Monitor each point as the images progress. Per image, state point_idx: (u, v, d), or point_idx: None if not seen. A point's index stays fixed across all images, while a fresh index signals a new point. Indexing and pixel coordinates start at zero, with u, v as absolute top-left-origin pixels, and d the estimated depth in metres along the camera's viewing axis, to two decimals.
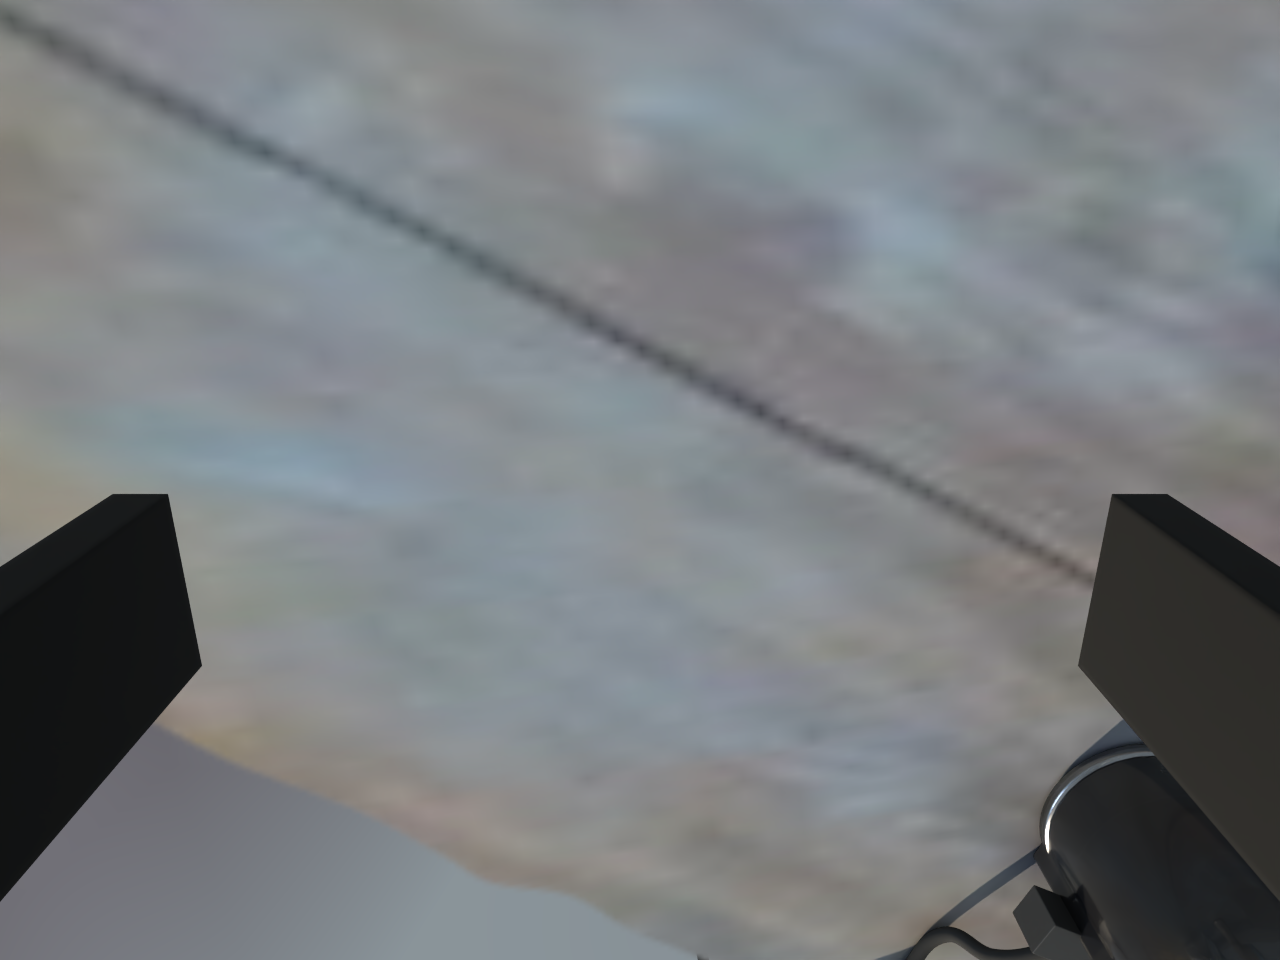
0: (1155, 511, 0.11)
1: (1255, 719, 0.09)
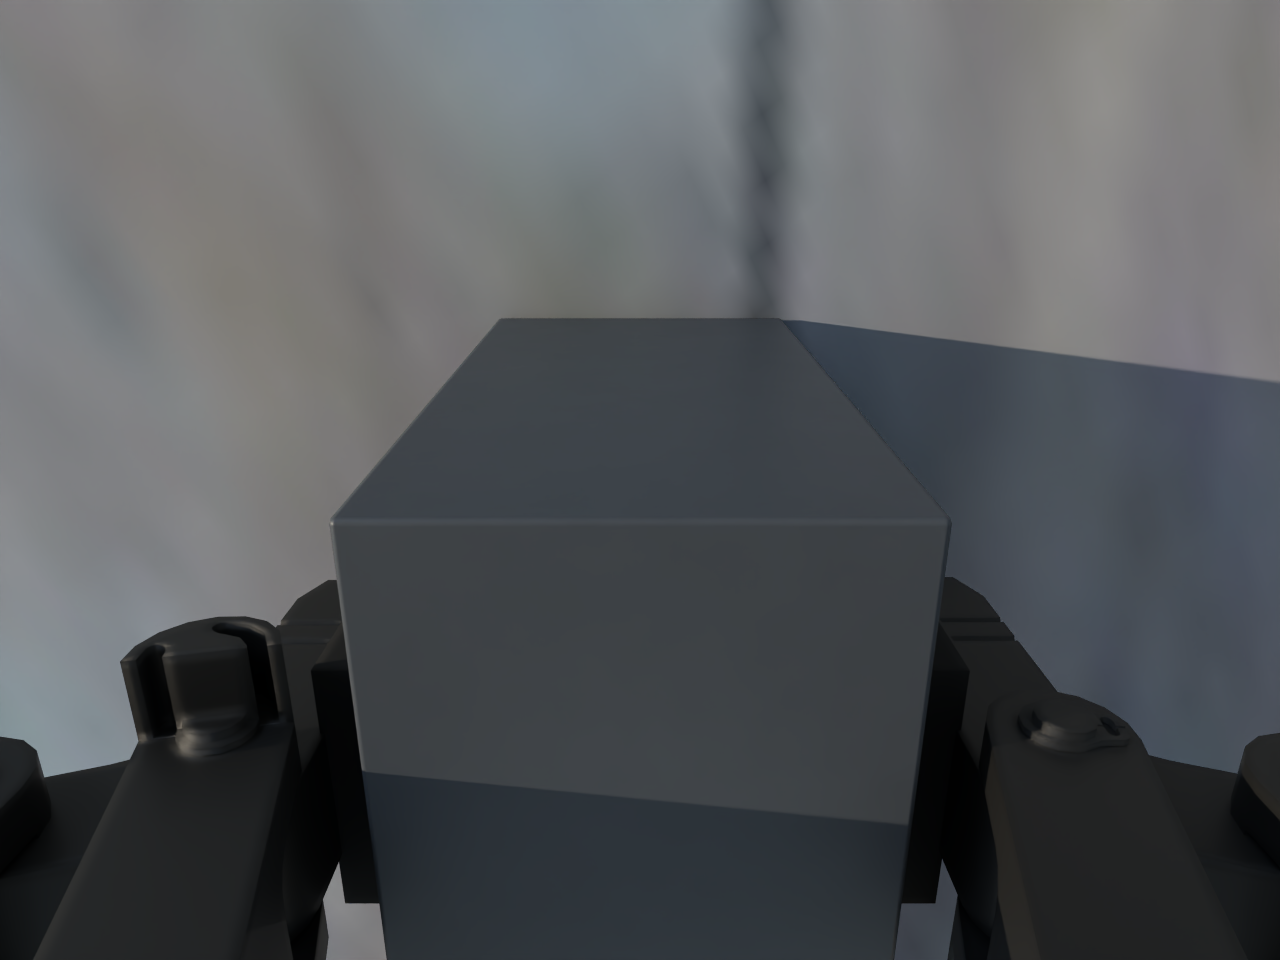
0: None
1: None
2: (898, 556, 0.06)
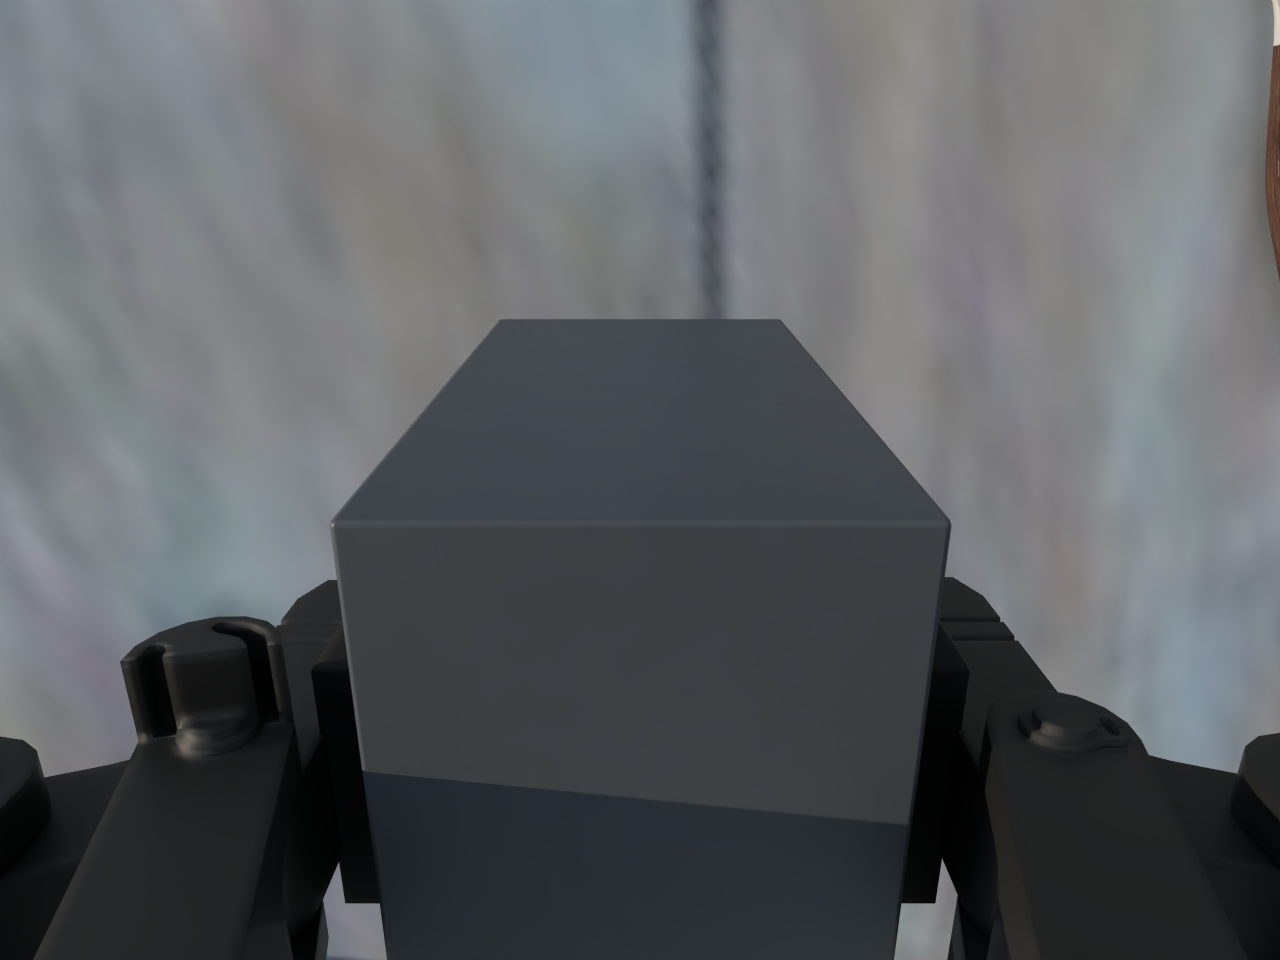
0: None
1: None
2: (897, 558, 0.06)
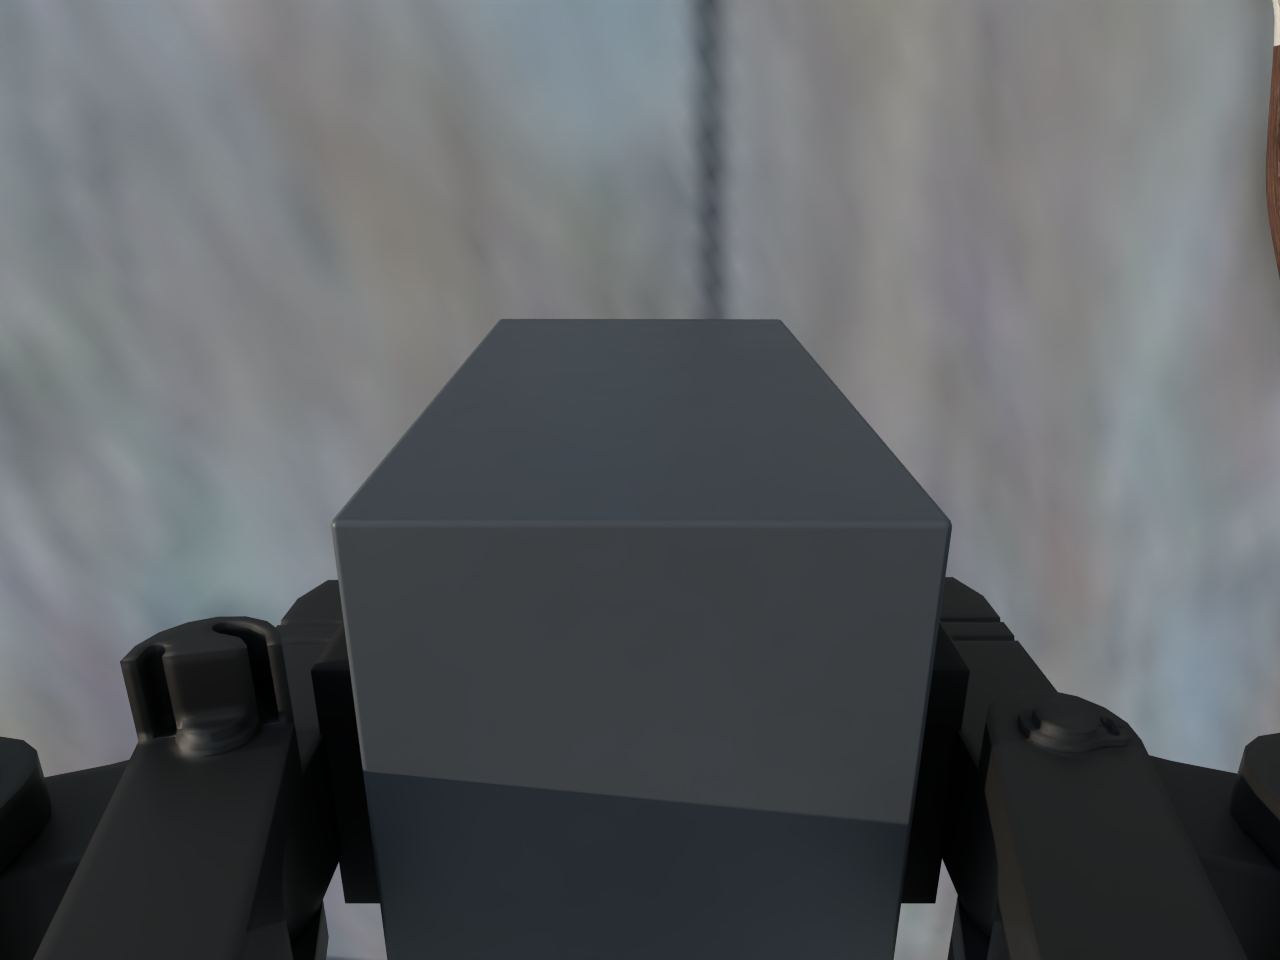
0: None
1: None
2: (898, 559, 0.06)
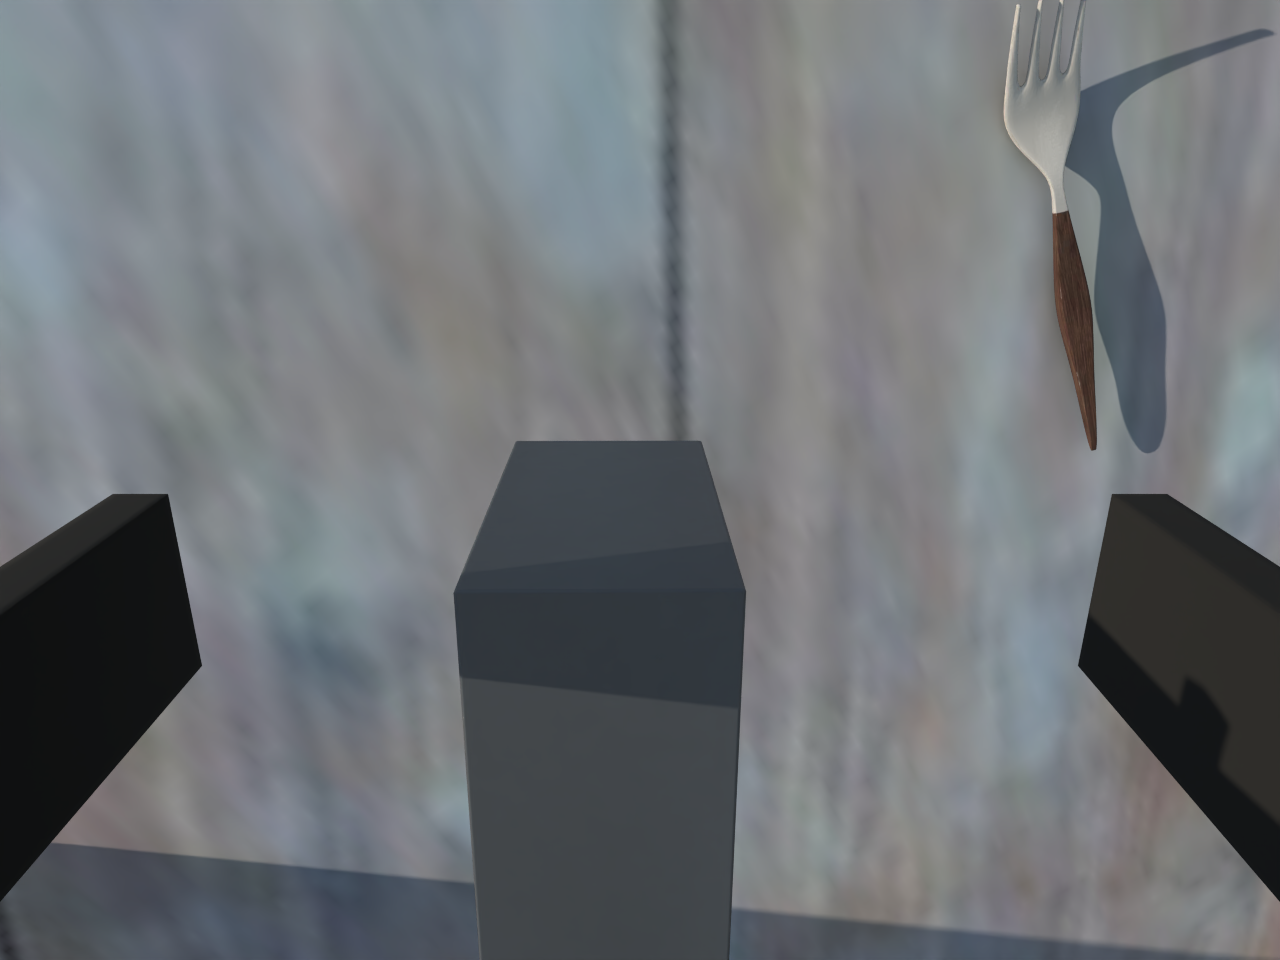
0: (1155, 511, 0.11)
1: (1255, 719, 0.09)
2: (721, 607, 0.14)
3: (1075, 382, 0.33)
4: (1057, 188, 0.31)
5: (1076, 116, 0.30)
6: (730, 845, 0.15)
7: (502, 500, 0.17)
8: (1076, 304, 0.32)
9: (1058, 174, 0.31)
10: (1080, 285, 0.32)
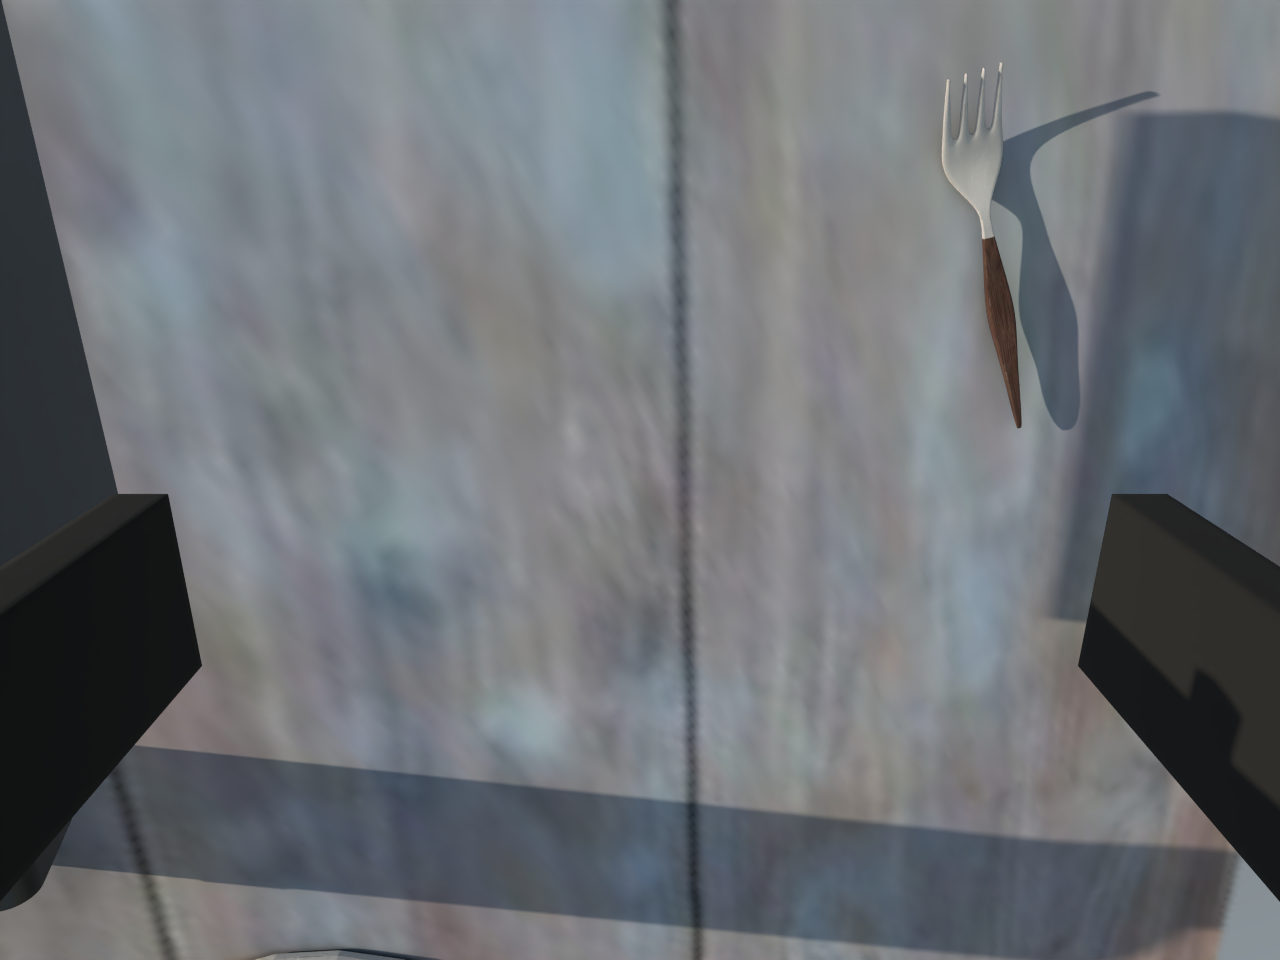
0: (1155, 511, 0.11)
1: (1255, 719, 0.09)
2: None
3: (1003, 373, 0.41)
4: (985, 219, 0.38)
5: (1000, 161, 0.38)
6: None
7: None
8: (1002, 311, 0.40)
9: (986, 208, 0.38)
10: (1005, 296, 0.39)
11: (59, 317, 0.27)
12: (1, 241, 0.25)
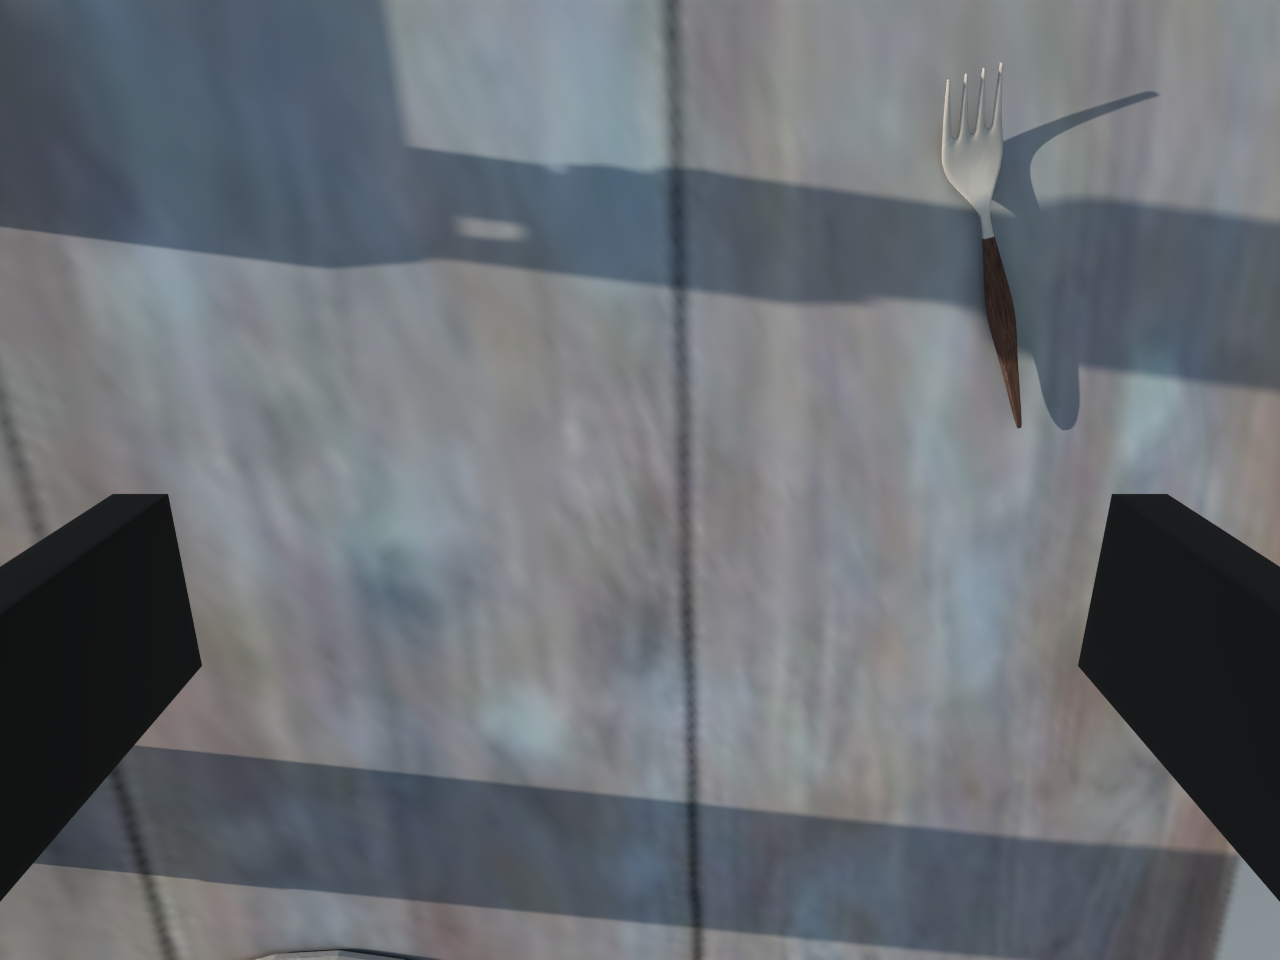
0: (1155, 511, 0.11)
1: (1255, 719, 0.09)
2: None
3: (1003, 373, 0.41)
4: (985, 219, 0.38)
5: (1000, 161, 0.38)
6: None
7: None
8: (1002, 311, 0.40)
9: (986, 208, 0.38)
10: (1005, 296, 0.39)
11: None
12: None
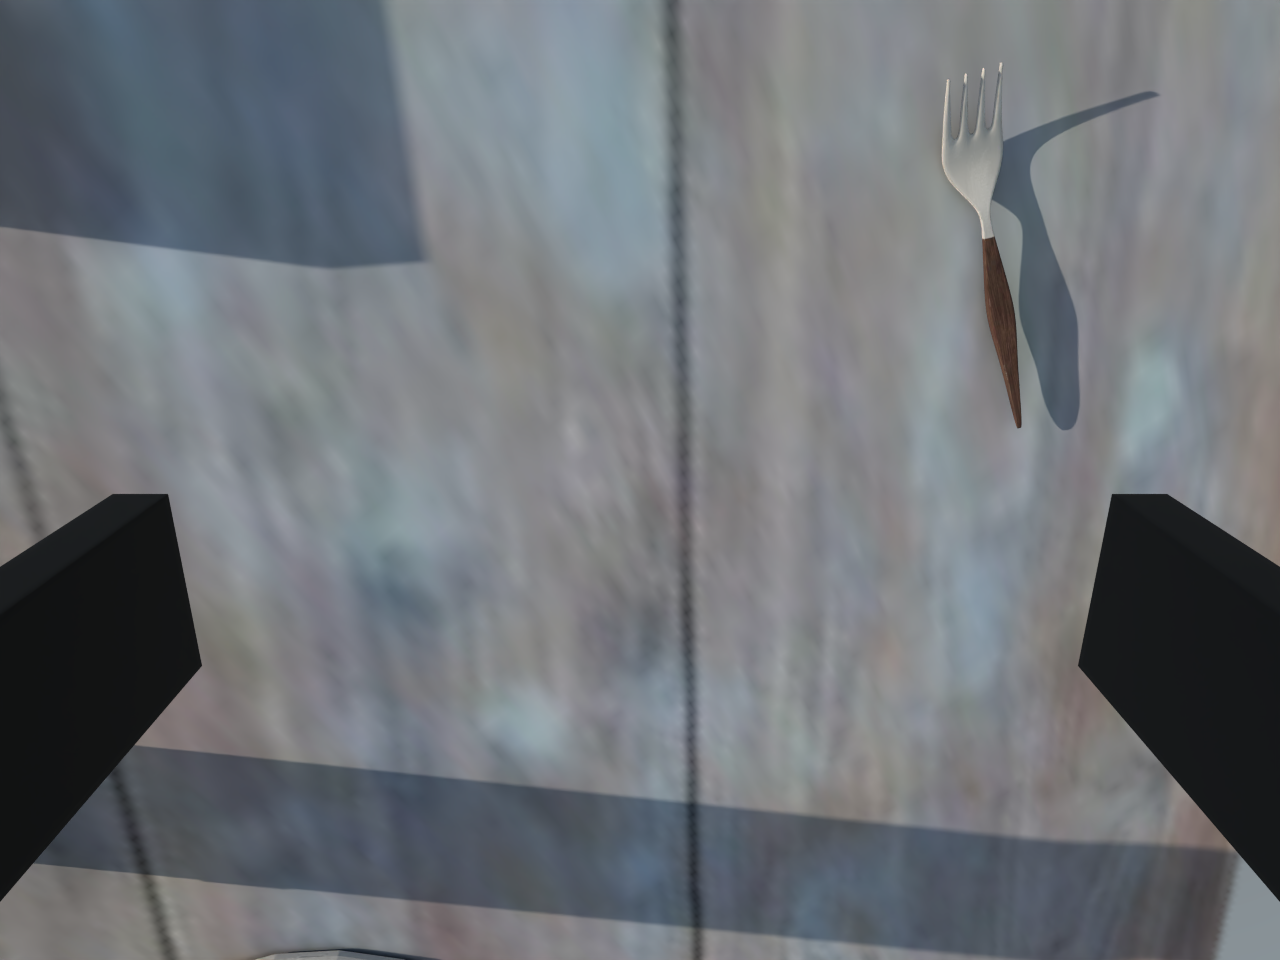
0: (1155, 511, 0.11)
1: (1255, 719, 0.09)
2: None
3: (1003, 373, 0.41)
4: (985, 219, 0.38)
5: (1000, 161, 0.38)
6: None
7: None
8: (1002, 311, 0.40)
9: (986, 208, 0.38)
10: (1005, 296, 0.39)
11: None
12: None
